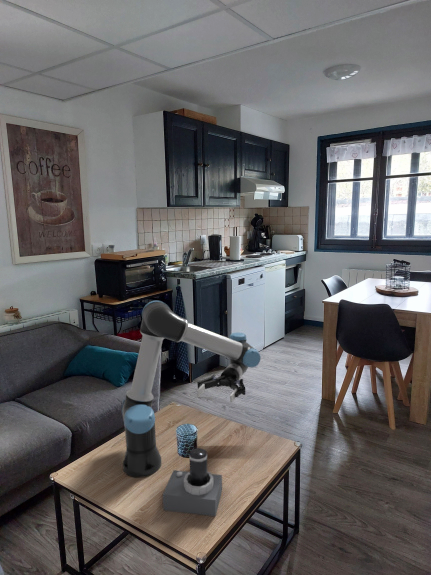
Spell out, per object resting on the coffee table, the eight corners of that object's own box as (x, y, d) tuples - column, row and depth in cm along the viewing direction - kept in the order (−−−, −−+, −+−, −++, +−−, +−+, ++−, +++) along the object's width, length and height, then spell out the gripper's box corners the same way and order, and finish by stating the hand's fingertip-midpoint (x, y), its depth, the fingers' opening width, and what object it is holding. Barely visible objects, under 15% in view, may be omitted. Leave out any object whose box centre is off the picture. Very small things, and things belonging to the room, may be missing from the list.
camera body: (163, 510, 134) (162, 487, 132) (174, 484, 146) (173, 464, 145) (215, 516, 130) (215, 493, 129) (222, 489, 143) (221, 468, 141)
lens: (188, 489, 135) (187, 457, 132) (192, 478, 140) (191, 447, 138) (205, 491, 133) (205, 459, 131) (209, 480, 139) (208, 449, 137)
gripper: (259, 387, 166) (245, 410, 147) (204, 379, 175) (184, 401, 155) (259, 370, 165) (245, 391, 145) (204, 363, 174) (183, 383, 154)
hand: (214, 396), depth 150 cm, fingers open, 13 cm apart
